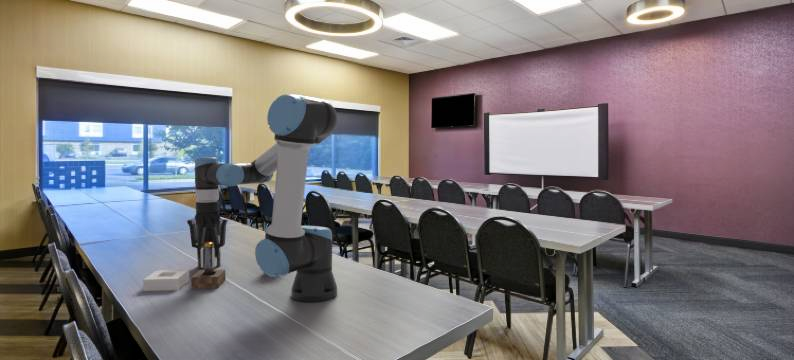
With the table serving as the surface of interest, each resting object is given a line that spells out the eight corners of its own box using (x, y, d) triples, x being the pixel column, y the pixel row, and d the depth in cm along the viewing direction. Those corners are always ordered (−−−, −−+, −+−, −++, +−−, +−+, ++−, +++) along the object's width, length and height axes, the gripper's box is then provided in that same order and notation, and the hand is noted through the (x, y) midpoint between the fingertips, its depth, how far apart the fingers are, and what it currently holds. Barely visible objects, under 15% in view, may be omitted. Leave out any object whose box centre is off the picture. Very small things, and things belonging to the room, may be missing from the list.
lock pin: (215, 280, 152) (214, 241, 151) (212, 282, 148) (211, 243, 148) (206, 280, 151) (205, 242, 150) (203, 283, 148) (202, 244, 147)
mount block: (225, 280, 155) (225, 269, 155) (218, 288, 146) (218, 276, 146) (199, 280, 154) (199, 270, 154) (191, 288, 145) (191, 277, 145)
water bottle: (216, 269, 168) (215, 212, 166) (190, 269, 168) (189, 212, 166) (226, 263, 178) (225, 209, 176) (202, 262, 178) (201, 208, 176)
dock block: (189, 280, 154) (189, 269, 154) (177, 290, 143) (177, 278, 143) (157, 280, 153) (157, 270, 153) (143, 291, 142) (143, 279, 142)
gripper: (234, 199, 153) (235, 263, 154) (187, 199, 151) (188, 264, 152) (228, 202, 145) (230, 268, 147) (179, 202, 143) (180, 270, 145)
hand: (209, 266), depth 149 cm, fingers closed on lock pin, 3 cm apart
